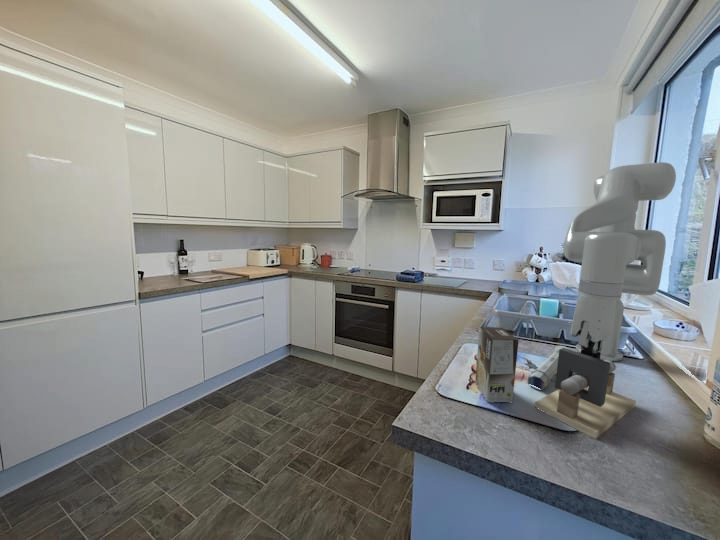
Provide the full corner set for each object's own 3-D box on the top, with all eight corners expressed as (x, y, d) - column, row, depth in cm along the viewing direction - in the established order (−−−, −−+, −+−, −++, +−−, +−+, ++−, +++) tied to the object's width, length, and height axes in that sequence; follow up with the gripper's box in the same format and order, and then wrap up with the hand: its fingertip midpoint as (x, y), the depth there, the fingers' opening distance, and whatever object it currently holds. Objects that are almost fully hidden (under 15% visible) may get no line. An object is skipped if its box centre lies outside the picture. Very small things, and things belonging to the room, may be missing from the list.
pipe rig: (577, 383, 81) (582, 350, 80) (635, 406, 71) (641, 369, 70) (534, 407, 70) (539, 369, 68) (595, 439, 59) (602, 394, 58)
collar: (558, 385, 71) (563, 347, 70) (604, 404, 64) (610, 362, 62) (554, 387, 70) (559, 349, 69) (600, 407, 63) (606, 364, 61)
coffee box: (513, 404, 71) (520, 340, 69) (486, 402, 71) (492, 339, 69) (497, 384, 80) (502, 327, 78) (473, 383, 80) (478, 326, 78)
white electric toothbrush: (525, 372, 79) (555, 339, 95) (524, 394, 81) (554, 357, 96) (547, 380, 75) (575, 344, 91) (545, 403, 77) (573, 363, 92)
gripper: (594, 283, 72) (584, 354, 75) (564, 288, 65) (554, 367, 67) (633, 289, 66) (621, 366, 69) (606, 295, 58) (593, 382, 61)
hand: (588, 366), depth 68 cm, fingers closed
